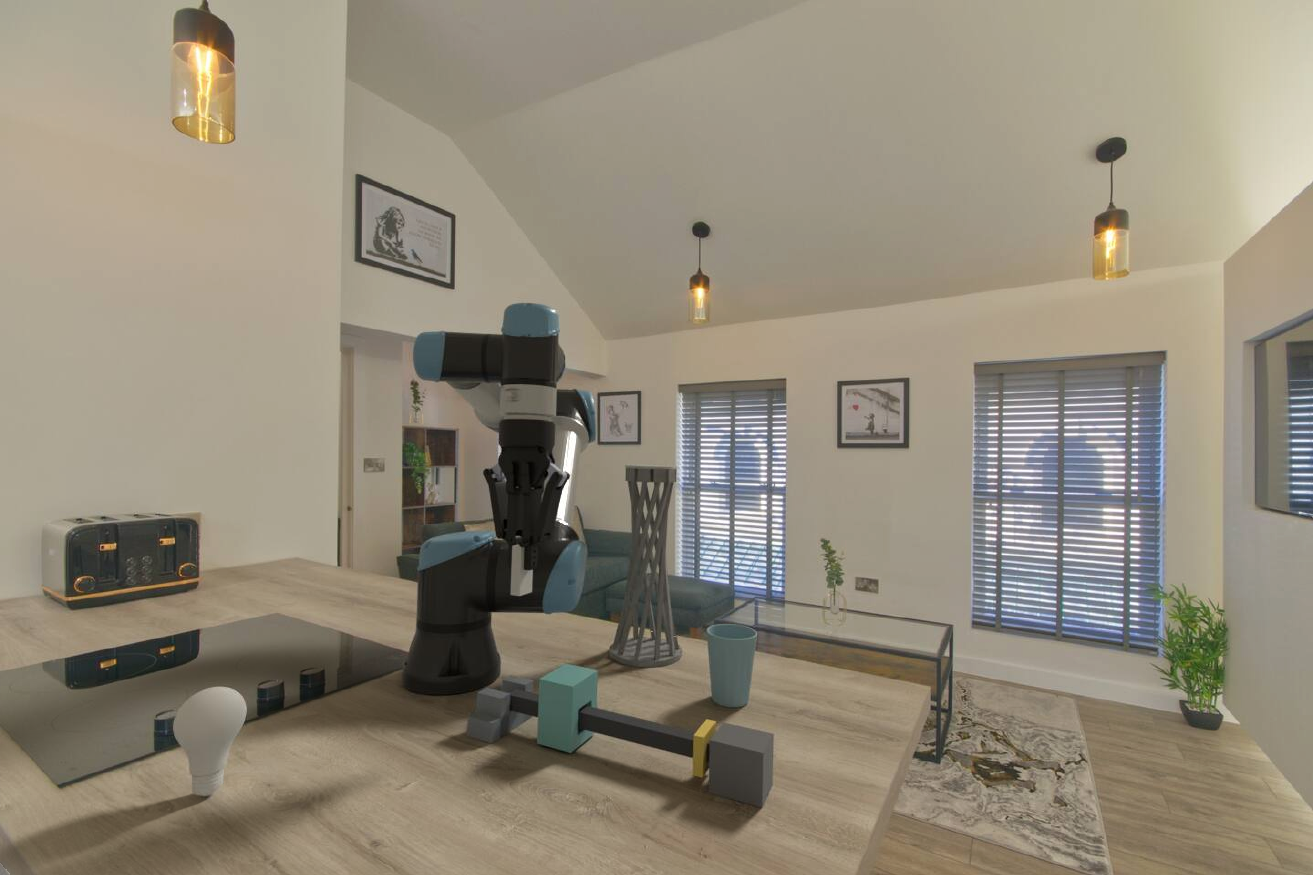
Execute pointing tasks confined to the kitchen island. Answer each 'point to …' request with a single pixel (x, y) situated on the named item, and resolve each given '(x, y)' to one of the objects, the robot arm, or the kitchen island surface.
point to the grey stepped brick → (497, 711)
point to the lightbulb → (209, 734)
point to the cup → (731, 663)
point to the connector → (741, 764)
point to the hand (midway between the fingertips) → (521, 593)
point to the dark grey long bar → (634, 730)
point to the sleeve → (565, 706)
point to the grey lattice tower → (639, 647)
